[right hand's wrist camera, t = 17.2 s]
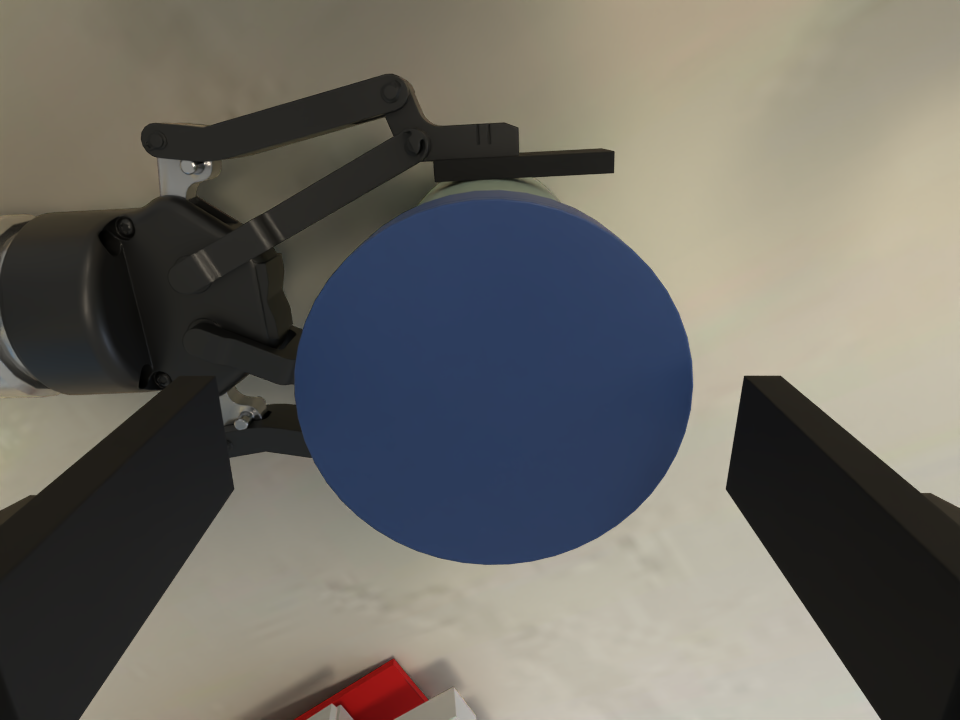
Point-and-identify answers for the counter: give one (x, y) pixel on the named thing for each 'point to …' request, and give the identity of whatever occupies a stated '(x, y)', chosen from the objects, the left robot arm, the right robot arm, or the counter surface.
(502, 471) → the lid
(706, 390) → the counter surface
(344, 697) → the toy
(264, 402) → the left robot arm
